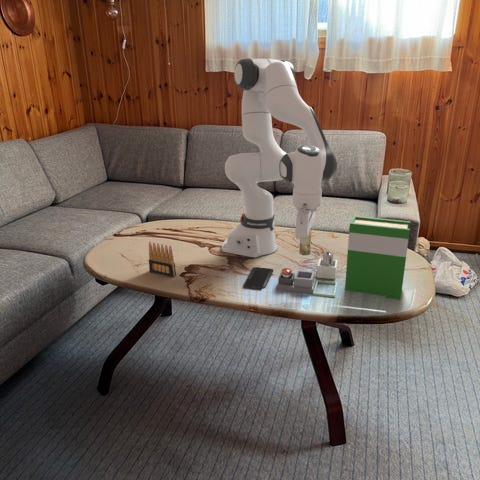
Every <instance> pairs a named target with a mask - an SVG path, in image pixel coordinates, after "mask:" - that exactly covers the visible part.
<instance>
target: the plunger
mask: <svg viewBox="0 0 480 480" xmlns="http://www.w3.org/2000/svg"><path fill="white" fill-rule="evenodd" d="M281 272H282V278H288V279H291V273H293V269H292V268H290V267H284V268H282V269H281Z"/></svg>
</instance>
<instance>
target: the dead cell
mask: <svg viewBox="0 0 480 480" xmlns="http://www.w3.org/2000/svg"><path fill="white" fill-rule="evenodd" d="M322 259H323V263H322V266H331V267H333V260H334V252H331V251H324V252H323V253H322Z"/></svg>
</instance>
